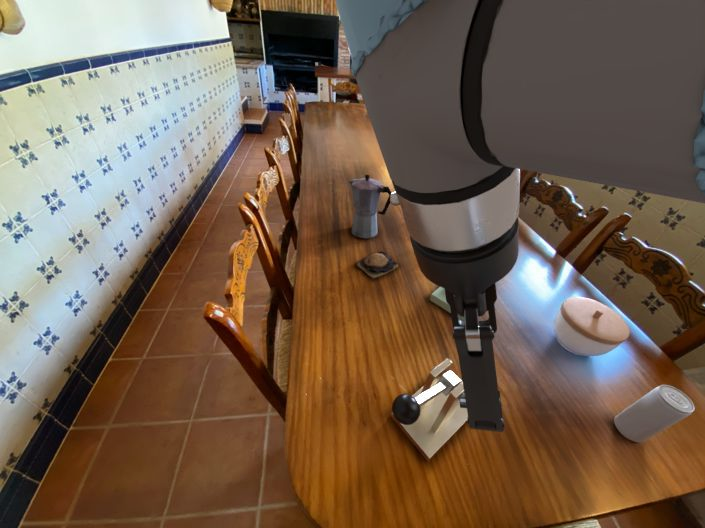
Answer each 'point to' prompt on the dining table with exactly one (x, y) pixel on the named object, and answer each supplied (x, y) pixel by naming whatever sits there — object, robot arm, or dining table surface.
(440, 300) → the button box
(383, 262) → the bread roll
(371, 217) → the moka pot
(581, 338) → the lidded bowl
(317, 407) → the dining table surface
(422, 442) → the lever bracket
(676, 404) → the beverage can
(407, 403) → the lever
